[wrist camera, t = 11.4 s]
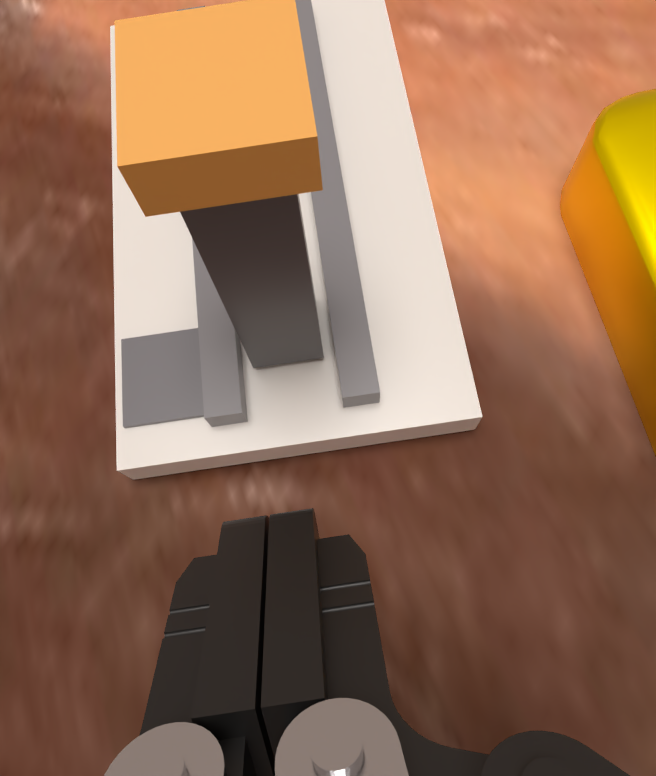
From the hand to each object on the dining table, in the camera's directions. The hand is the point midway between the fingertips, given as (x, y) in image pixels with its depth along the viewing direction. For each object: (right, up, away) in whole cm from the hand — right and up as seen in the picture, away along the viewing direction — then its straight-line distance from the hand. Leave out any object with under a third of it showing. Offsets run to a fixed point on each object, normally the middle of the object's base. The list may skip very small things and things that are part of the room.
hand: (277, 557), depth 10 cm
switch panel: (-1, +10, +14) cm, 17 cm away
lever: (-1, +5, +10) cm, 12 cm away
